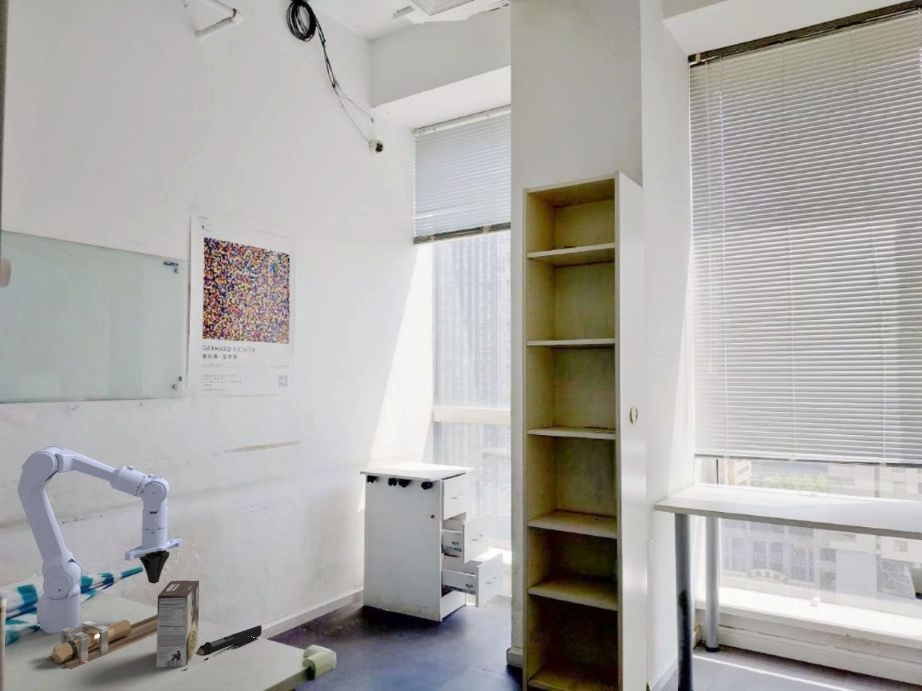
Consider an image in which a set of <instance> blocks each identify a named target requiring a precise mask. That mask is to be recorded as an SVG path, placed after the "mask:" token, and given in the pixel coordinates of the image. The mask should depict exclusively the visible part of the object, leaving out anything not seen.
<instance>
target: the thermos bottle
mask: <svg viewBox="0 0 922 691" xmlns="http://www.w3.org/2000/svg"><path fill="white" fill-rule="evenodd" d="M131 625H132V624H131V622H130V621H129V620H128V619H123V620H120V621H118V622H115V623H113V624H112V623H111V624H109V625H106V626H107V627H109V629H108V643H110V642H113V641H115V640H118V639H120V638H122V637H125V636H127V635H129V634H130V633H131ZM98 647H99V632H97V631H94V630H93V631H91V633H89V638H88V652H89V651H91V650H93V649H96V648H98ZM78 649H79V640H78V639H75V638H73V639H71V640H70V641H68V642H65V643H63V644H59V645H55V646H54V647H53V649H52V655H53V659H54V661H55V662H56V663H58V664H60V663H62V662H65V661H67V660H70V659H72V658H75V657H77V656H78ZM56 663H55V664H56ZM58 664H57V665H58Z"/></svg>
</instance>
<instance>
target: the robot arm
mask: <svg viewBox="0 0 922 691" xmlns="http://www.w3.org/2000/svg"><path fill="white" fill-rule="evenodd" d="M73 471H75V472H79V473H82V474H85V475H88V476H92V477H94V478H98V479H101V480H104V481H108V482H109V484H110V487H111V488H112V489H114V490H116V491H119V492H122V493H125V494H127V495H130V496H133V497H135V498H140V499H141V500H142V502H143V504H142V505H143V508H142V514H141V516H142V518H141V519H142V520H141V522H142V523H141V545H139V546H137V547H135V548H133V549H130V550H126V551H125V552H124V560H125V561H128V562H133V561H134V560H136V559H139V560H140V562H141V564H142V565H143V567H144V570H145V572H146V575H147V579H148V580H147V581H148V583H150V584H152V585H153V584H156V583H157V584H158V583H159V582H160V578H161V574H162V571H163V569H164V566H165V564H166V562H167V560H168V559H169V557H170V552H169V551H167V550H169V549H170V550H171V549H173V548H176V547H177V548H179V547H182V546H183V545H182V543H183V540H182V539H183V538H181V537H180V538H179V537H175V538H169V539H168V526H169V525H168V520H169V518H168V517H169V509H168V503H169V502H168V497H167V496H168V494H169V492H170V483H169V482H168V480H167V479H166V478H163V477H162V476H154V474H152V473H149V474H147V473H144V472H141V471H139V470H137V469H135V466H133V465H129V466H128V467H127V466H125V465H123V466H120V467H118V468H115V467H113V466H112V465H111V466H110V465H108V464H105V463H103V462H101V461H98V460H96V459H94V458H91V457H89V456H86V455H84V454H82V453H79V452H77V451H74V450H72V449H68V448H63V447H61V446H58V445H50V446H46V447H44V448H43V449H41V450H37V451H35V452H32V453H31V454H30V455H29V456H28V458H27V459H26V460H25V461H24V462H23V463H22V465H21V474H20V478H19V482H18V486H17V494H18V497H19V500H20V503H21V505H22V508H23V510H24V512H25V517H26V519H27V521H28V524H29V528H30V529H31V532H32V536H33V537H34V539H35V543H36V545H37V549H38V551H39V552H40V557H41V559H42V565H41V566H42V569H41V573H42V576H43V583H42V590H43V594H42V595H41V596H39V599H38V601H37V604H36V625H37V624H40V628H39V629H41V630H43V631H44V632H45V633H47V634H61V632H62V630H63V629H66V628H71V629H74V630H76V629H77V628H79V626H80V625H81V586H80V585H79V582H80V581H81V579H82V578H83V574H84V569H83V566H82V564H80V562H79V561H77V560H76V559H75V556H74V555H73V553H72V552H71V551H70V550H69V549H68V548H67V546H66V543H65V540H64V538H63V535H62V532H61V529H60V526H59V523H58V522H57V521H58V520H57V519H56V516H55V514H54V510H53V508H52V505H51V502H50V499H49V497H48V494H47V491H46V489H47V488H46V487H48V484H49V483H50V481H52V478H53V477H54V476H55V475H56V474H57V473H58V474H62V473H67V472H68V473H69V472H73Z"/></svg>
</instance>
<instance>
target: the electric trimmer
mask: <svg viewBox="0 0 922 691" xmlns="http://www.w3.org/2000/svg"><path fill="white" fill-rule="evenodd" d="M262 629H263V627H262V625H261V624H260V625H256V626H253V627H251V628H247V629H245V630H244V629H243V630H242V631H239V632H235V633H232V634H230V635H228V636H224V637H221V638H220V639H215V640H214V641H211V642H210V641H206V642H205V643H204V644H201V645H200V646H198V649H197V650H196V652H197V653H199V654H201V655H202V656H204V657H205V656H207V657H206V658H205V659H203V661H207V660H209V657H208V656H209V655H211V654H212V653H213V652H216V651H218V652H217V653H215V654H213V655H216V654H219V653H222V652H224V651H226V650H227V651H228V650H229V649H232V648H237V647H236V646H239V647H241V646H243V645H246V644H247V643H249V642H251V641H253V640H256V639H258V638H259V637H260V636H262V631H263V630H262ZM251 636H252V637H251ZM253 637H256V638H253ZM219 650H220V651H219Z"/></svg>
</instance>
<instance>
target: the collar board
mask: <svg viewBox="0 0 922 691" xmlns="http://www.w3.org/2000/svg"><path fill="white" fill-rule="evenodd" d="M107 626H108V625H104V624H100V623H98V622H94V621H92V620H86V621H83V622H81V631H80V632H77V633H76V629H71V628H66V629H63V630H62V632H61V633H60V634H61V637H60V638H61V639H60V640H61V641H60V643H61V644H63V643H65V642H68V641H70V640H72V636H73V639H78V640H79V649H78V656H77V657H75V658H72V659H70V660H67V661H65V662H62V663H60V664H58V663H56V662H55V661H54V659H53V654H52V655H49V656H48V658H46V659H45V660H46V661H48V662H51V663H53V664H56V665H59V666H61V667H64V668H66V669H68V670H72V669H75V668H77V667H79V666H82V665H84V664H87V663H89V662H92V661H94V660H96V659H99V658H102V657H105V656H106V655H108V654H111V653H114V652H116V651H118V650H121V649H123V648H125V647H127V646H130V645H132V644H134V643H137V642H140V641H142V640H144V639H147V638H149V637H151V636H154V635H157V614H155V615H153V616H149V617H147V618H145V619H142V620H139V621H137V622H135V623H132V624H131V633H130V634H129V635H127V636H125V637H122V638H120V639H118V640H115V641H113V642H110V643H108V629H109V627H107ZM92 631H93V632H94V631H97V632H99V647H98V648H96V649H93V650H91V651H89V652H88V638H89V633H91V632H92Z"/></svg>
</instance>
